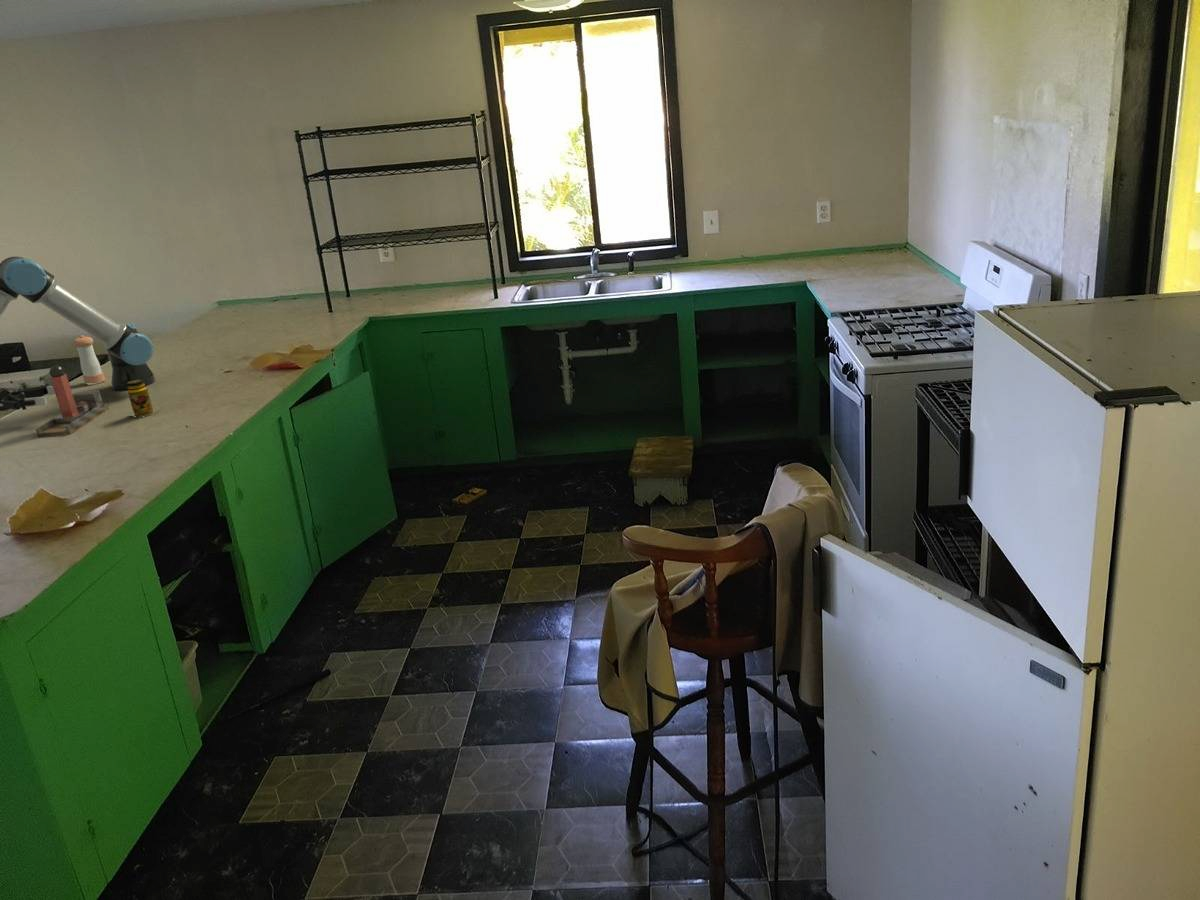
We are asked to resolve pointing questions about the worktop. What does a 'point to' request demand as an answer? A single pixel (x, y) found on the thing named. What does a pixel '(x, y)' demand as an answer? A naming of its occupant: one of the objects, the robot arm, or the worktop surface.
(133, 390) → the condiment
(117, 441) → the worktop surface
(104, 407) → the press base
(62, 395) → the handle carriage
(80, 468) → the worktop surface
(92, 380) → the pepper shaker
